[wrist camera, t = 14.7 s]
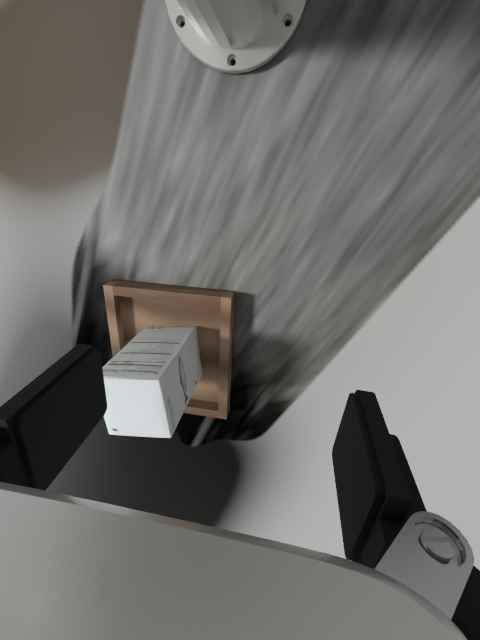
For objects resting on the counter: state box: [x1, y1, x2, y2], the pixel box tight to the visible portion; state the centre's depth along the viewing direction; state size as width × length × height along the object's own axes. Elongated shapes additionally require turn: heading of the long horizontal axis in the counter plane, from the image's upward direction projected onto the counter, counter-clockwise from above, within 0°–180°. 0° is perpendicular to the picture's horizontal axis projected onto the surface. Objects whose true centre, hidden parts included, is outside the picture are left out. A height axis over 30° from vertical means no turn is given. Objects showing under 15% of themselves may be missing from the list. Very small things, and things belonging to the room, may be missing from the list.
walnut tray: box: [103, 280, 235, 419], centre depth 42 cm, size 18×16×2 cm
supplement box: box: [102, 326, 203, 438], centre depth 37 cm, size 7×7×13 cm
